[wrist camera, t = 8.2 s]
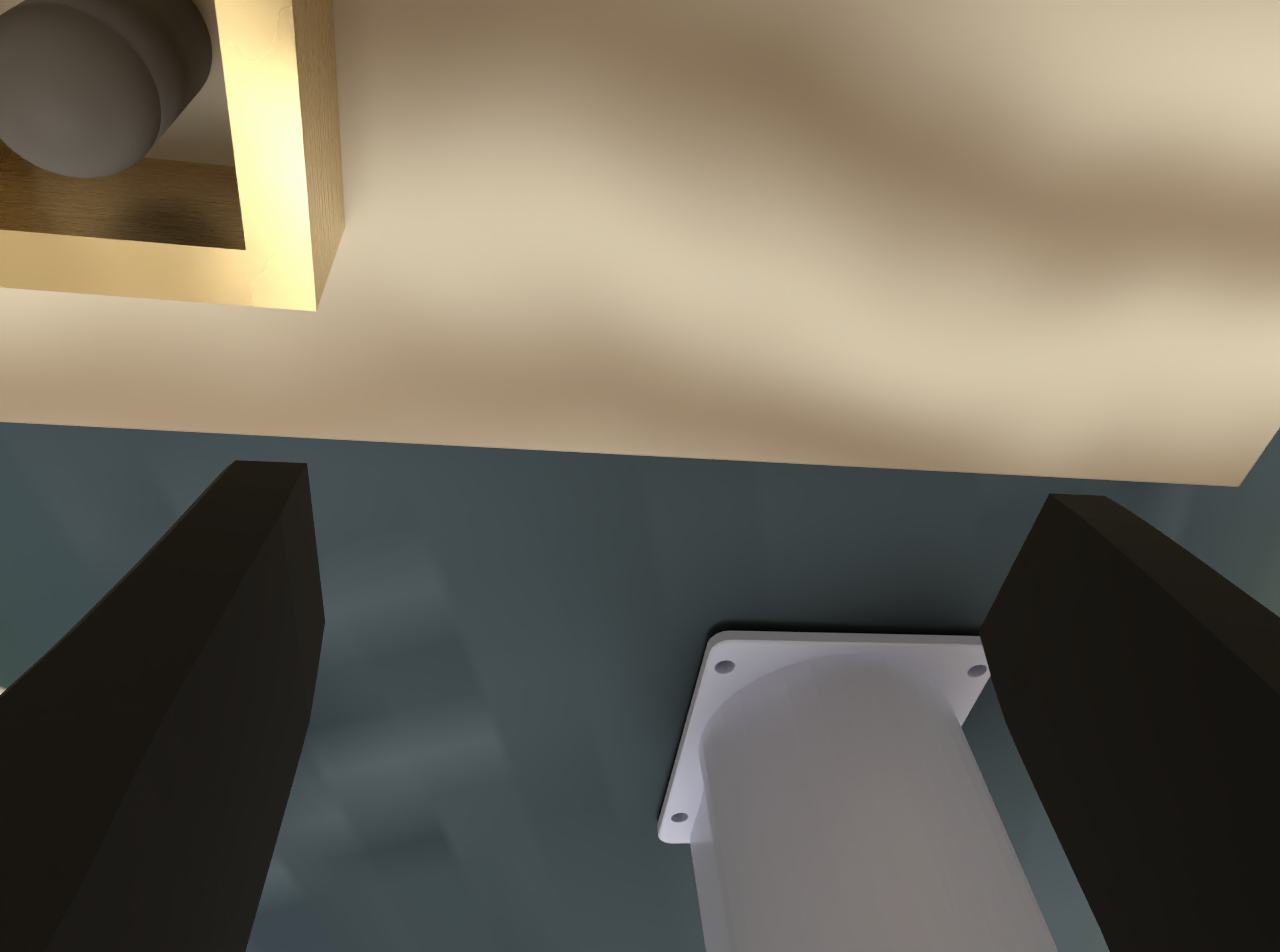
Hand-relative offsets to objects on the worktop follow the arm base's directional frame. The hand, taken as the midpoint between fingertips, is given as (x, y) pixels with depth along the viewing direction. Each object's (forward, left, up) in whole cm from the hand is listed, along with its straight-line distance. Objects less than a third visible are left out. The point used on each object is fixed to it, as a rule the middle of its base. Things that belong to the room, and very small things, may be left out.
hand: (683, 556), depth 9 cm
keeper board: (+2, -1, -9) cm, 10 cm away
